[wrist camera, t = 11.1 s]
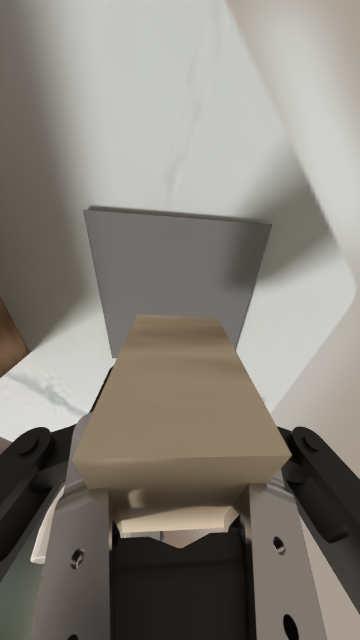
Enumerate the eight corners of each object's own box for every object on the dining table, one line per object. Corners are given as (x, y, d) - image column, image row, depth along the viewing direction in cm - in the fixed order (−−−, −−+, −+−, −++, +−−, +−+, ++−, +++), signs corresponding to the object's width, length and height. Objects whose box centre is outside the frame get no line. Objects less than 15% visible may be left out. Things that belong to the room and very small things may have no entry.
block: (137, 314, 9) (71, 460, 3) (217, 317, 10) (292, 455, 4) (142, 390, 13) (114, 533, 7) (202, 391, 13) (227, 527, 7)
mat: (86, 210, 15) (83, 209, 14) (268, 224, 16) (271, 224, 15) (113, 355, 24) (112, 357, 23) (230, 357, 25) (231, 360, 24)
